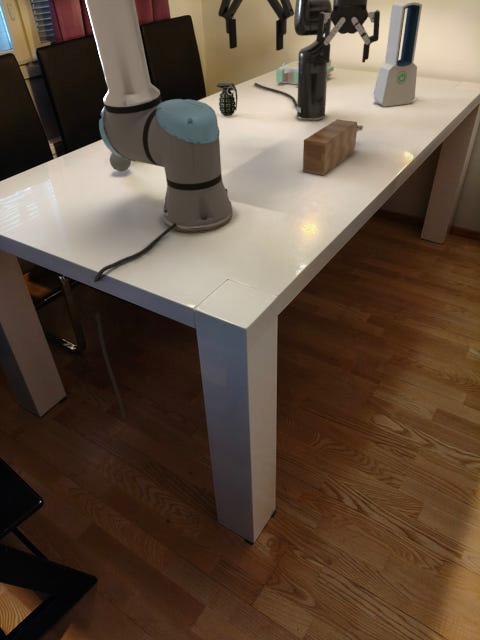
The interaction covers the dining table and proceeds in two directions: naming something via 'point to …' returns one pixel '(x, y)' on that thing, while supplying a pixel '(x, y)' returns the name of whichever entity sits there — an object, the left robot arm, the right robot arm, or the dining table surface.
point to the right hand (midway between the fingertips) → (345, 62)
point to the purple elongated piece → (358, 129)
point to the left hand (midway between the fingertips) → (256, 48)
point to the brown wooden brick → (329, 146)
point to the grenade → (227, 99)
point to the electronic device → (398, 74)
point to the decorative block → (293, 72)
